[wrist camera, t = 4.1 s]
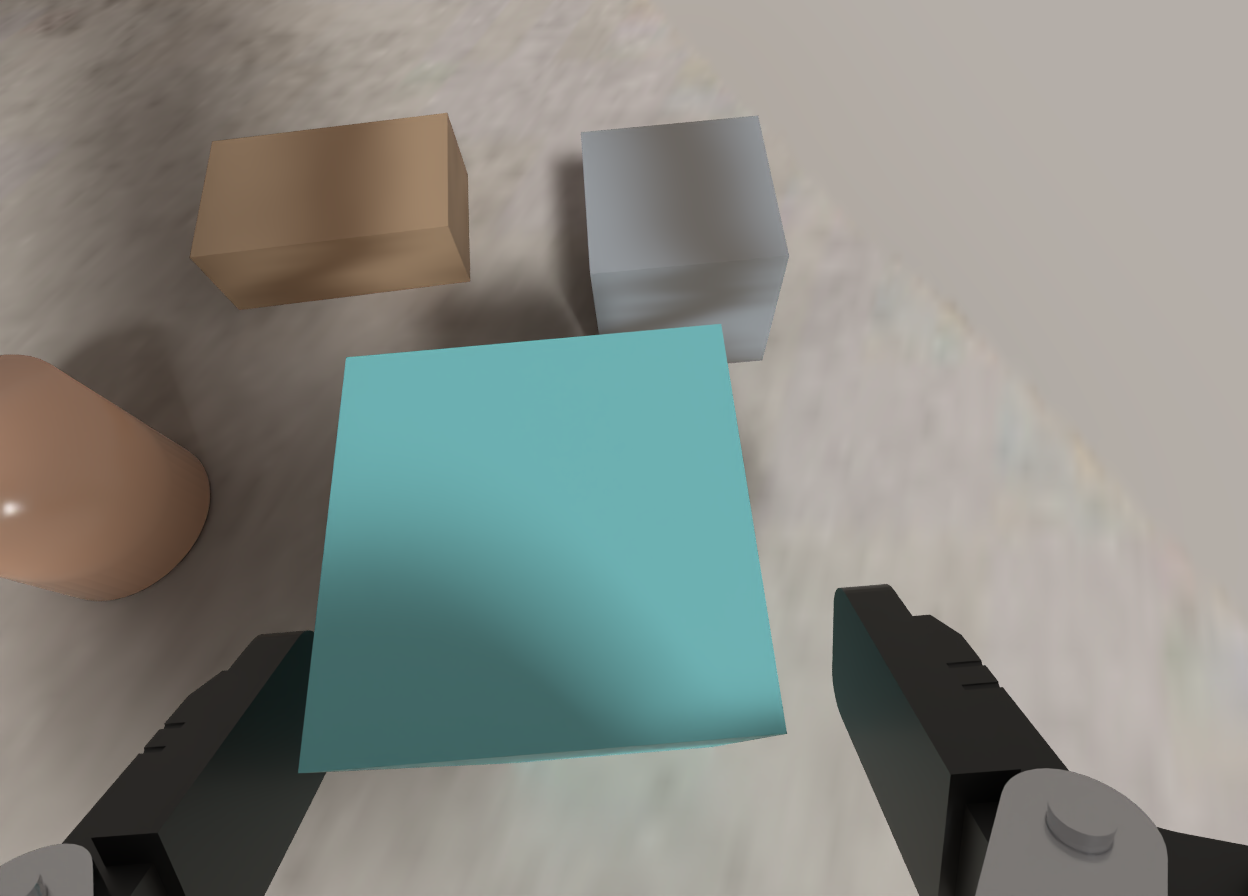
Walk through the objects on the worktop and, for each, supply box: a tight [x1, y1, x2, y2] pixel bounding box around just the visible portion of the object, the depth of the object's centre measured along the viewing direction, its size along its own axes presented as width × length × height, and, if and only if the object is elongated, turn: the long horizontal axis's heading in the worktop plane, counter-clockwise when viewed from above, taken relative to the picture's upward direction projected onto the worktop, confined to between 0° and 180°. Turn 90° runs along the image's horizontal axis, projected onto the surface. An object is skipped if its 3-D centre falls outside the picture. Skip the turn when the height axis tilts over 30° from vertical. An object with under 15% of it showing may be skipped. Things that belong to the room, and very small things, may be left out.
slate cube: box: [581, 116, 789, 363], centre depth 20 cm, size 5×5×5 cm
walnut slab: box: [190, 113, 470, 310], centre depth 23 cm, size 8×5×3 cm, turn 97°
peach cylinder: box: [0, 355, 210, 601], centre depth 18 cm, size 5×5×5 cm
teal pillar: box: [298, 324, 787, 773], centre depth 13 cm, size 5×5×11 cm
